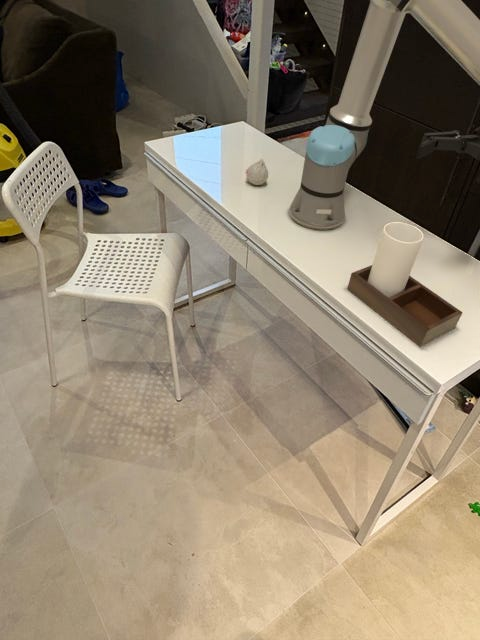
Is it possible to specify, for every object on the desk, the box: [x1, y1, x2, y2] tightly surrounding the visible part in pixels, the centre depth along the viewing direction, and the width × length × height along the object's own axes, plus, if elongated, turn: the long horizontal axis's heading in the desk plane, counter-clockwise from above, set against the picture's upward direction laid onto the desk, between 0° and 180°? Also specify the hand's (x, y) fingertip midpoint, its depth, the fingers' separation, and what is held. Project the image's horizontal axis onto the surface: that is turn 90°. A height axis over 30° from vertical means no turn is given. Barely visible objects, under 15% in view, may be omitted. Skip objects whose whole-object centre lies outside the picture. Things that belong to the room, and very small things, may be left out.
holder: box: [347, 264, 464, 348], centre depth 108 cm, size 11×22×5 cm, turn 34°
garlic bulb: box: [244, 158, 269, 186], centre depth 147 cm, size 6×7×8 cm
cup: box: [367, 221, 425, 298], centre depth 107 cm, size 8×8×16 cm
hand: (448, 164), depth 100 cm, fingers open, 13 cm apart
